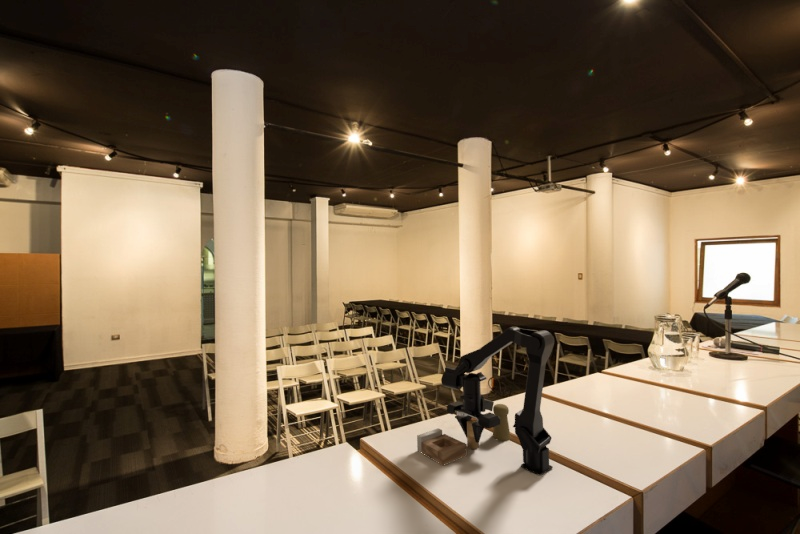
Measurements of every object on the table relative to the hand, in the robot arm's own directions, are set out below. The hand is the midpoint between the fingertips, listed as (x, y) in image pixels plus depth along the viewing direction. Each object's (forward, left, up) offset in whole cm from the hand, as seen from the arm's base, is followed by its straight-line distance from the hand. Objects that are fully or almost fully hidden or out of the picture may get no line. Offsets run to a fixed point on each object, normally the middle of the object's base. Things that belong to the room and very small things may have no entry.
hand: (472, 440), depth 128 cm
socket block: (+2, +11, -2) cm, 11 cm away
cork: (-1, -13, -2) cm, 13 cm away
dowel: (0, 0, -2) cm, 2 cm away
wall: (+8, +12, -2) cm, 14 cm away
